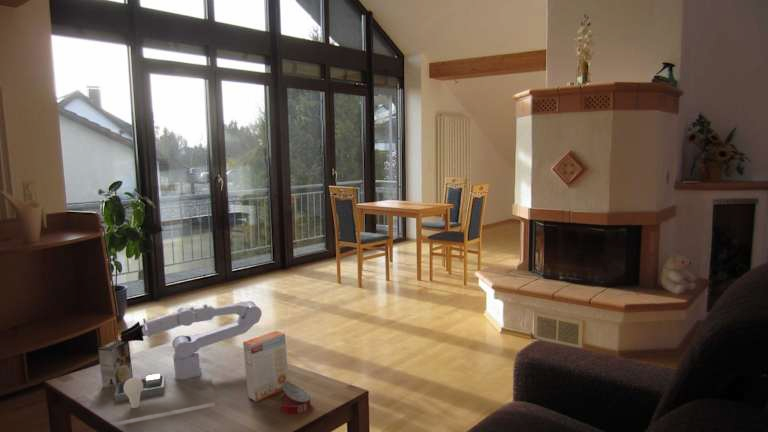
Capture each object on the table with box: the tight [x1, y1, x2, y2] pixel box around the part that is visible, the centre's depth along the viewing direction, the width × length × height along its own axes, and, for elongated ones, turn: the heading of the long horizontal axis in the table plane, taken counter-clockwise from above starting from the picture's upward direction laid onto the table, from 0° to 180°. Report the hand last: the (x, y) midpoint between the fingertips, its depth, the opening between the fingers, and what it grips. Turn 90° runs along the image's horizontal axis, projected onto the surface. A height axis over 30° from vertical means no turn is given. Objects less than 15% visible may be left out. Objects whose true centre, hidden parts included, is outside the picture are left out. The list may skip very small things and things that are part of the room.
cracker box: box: [242, 330, 290, 403], centre depth 186 cm, size 14×6×21 cm, turn 135°
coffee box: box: [97, 339, 134, 389], centre depth 198 cm, size 9×6×16 cm
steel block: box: [145, 373, 161, 389], centre depth 192 cm, size 4×4×4 cm
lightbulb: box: [123, 377, 143, 409], centre depth 179 cm, size 6×6×11 cm
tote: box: [113, 374, 166, 403], centre depth 190 cm, size 16×11×4 cm
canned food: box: [279, 381, 311, 415], centre depth 176 cm, size 11×10×10 cm
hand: (121, 337), depth 191 cm, fingers open, 7 cm apart
